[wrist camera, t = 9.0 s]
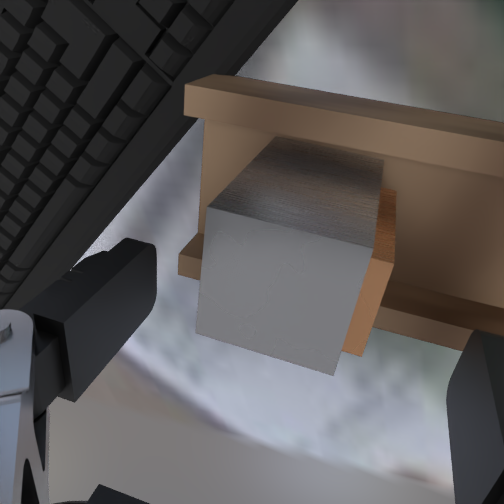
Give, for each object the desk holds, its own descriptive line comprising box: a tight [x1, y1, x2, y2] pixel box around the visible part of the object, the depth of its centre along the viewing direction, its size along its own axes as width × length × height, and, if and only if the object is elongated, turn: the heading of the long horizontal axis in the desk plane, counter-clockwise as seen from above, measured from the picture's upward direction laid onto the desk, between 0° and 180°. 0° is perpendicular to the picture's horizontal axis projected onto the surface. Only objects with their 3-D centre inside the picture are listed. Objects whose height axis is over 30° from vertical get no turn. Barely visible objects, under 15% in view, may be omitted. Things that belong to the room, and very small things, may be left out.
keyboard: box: [0, 0, 298, 310], centre depth 19 cm, size 30×11×2 cm, turn 136°
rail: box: [178, 74, 504, 351], centre depth 14 cm, size 22×8×8 cm, turn 83°
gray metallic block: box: [196, 136, 397, 376], centre depth 14 cm, size 4×5×7 cm
